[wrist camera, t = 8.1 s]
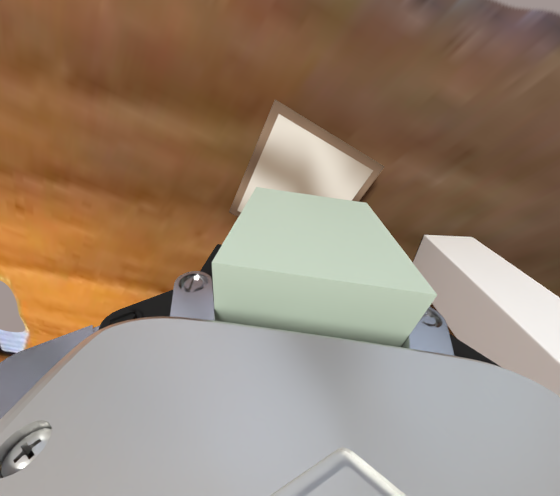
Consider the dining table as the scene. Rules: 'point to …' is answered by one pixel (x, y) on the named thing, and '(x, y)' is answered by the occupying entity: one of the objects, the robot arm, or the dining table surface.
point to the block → (317, 271)
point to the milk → (494, 306)
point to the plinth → (304, 161)
